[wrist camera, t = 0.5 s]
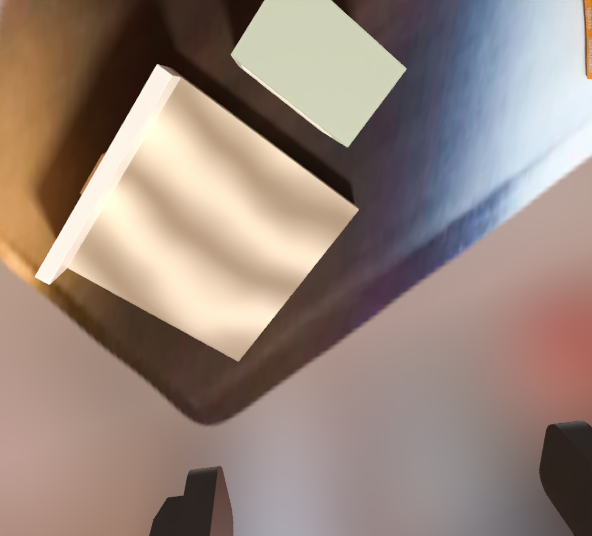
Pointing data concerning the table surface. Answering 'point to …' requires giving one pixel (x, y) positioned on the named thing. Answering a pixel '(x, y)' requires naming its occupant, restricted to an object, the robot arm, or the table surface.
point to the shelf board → (198, 218)
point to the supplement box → (589, 36)
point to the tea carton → (318, 64)
